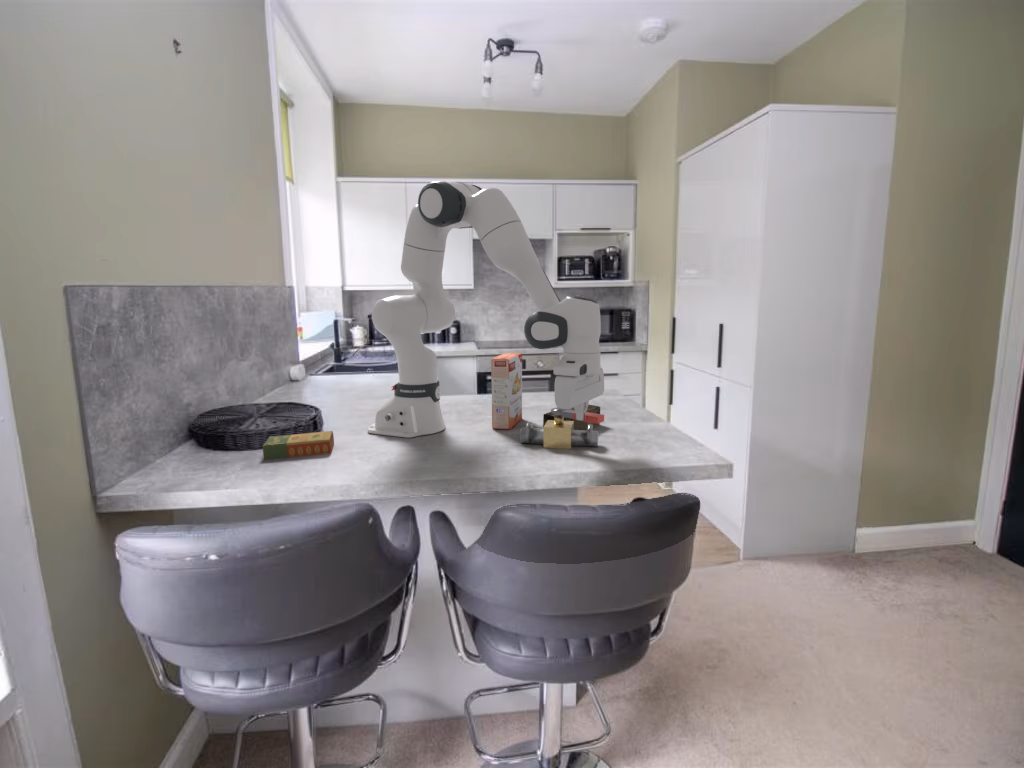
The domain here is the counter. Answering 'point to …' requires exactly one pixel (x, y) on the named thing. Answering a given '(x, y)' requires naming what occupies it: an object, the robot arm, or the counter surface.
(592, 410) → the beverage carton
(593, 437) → the valve body
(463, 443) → the counter surface
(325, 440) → the carton
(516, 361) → the cracker box
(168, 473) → the counter surface
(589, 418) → the lever
